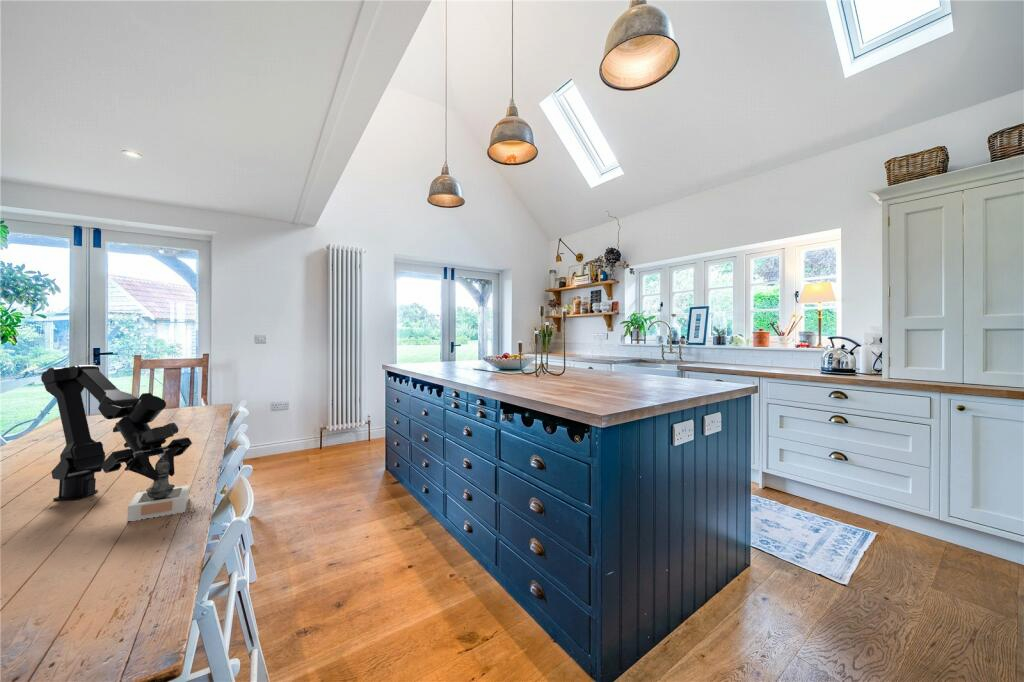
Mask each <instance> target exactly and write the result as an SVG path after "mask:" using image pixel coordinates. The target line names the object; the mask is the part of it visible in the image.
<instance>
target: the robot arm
mask: <svg viewBox="0 0 1024 682" xmlns="http://www.w3.org/2000/svg"><path fill="white" fill-rule="evenodd" d="M40 379H41V382H42V383H43V386H44V388H45V391H46V392H48V394H50V395H52V396H53V397H54V398H55V399H56V402H57V406H58V412H59V416H60V420H61V424H62V431H63V435H64V439H65V447H63V450H62V451H61V453H60V455H59V459H60V461H59V462H58V464H57V465H55V467H54V468H53V469H52V470H51V476H52V479H53V480H58V481H59V485H58V486H59V487H58V496H56V497H53V498H52V500H53V501H70V500H71V501H73V500H82V499H84V498H86V497H88V496H90V495H93V494H96V493H98V492H99V490H98V489H96V482H97V481H96V480H97V479H96V478H95V474H96V473H100V472H102V470H103V472H104V473H105V474H108V473H113V472H116V471H119V470H120V469H121V468H122V466H123V465H122V464H123V463H125V464H126V466H125V468H124V471H125V472H126V471H129V472H133V473H135V474H139V475H141V476H143V477H145V478H148V479H149V480H153V482H154V481H157V480H158V479H159V477H158V475H157V473H156V471H155V467H154V466H153V465H152V463H151V461H150V457H154V456H157V457H158V458H159V459H158V460H157V461H156V463H157V462H159V461H161V460H162V458H164V460H165V461H168V462H169V472H170V474H169V476H170V477H173V476H174V475H175V461H174V460H175V457H178V456H181V455H183V454H184V453H185V452H186V451H187V450H188V449H189V448H190V447H191V445H192V444H193V442H192V440H191V439H190V437H180V438H175V439H172V441H170V443H169V444H168V445H164V444H165V443H167V440H166V439H168V438H173V437H174V435H175V434H178V433H179V431H180V430H179V427H178V425H177V424H176V423H175V422H171V423H170V422H169V423H167V424H165V425H163V426H158V427H157V426H156V427H153V428H151V426H150V425H149V423H152V422H154V421H155V419H156V418H157V417H158V416H159V415H160V414H161V412H162V411H164V410H165V408H166V407H167V403H166V401H165V400H164V399H163V398H161V397H159V396H157V395H153V394H152V392H143V393H141V394H140V396H139V397H136V396H135V395H134V394H132V393H129V392H125V391H122V390H120V389H119V388H118V387H117V386H116V385H114V383H113V382H111V380H109V378H107V376H105V375H104V374H103V373H102V372H101V371H100V367H99V366H97V365H95V364H77V365H72V366H69V367H67V366H63V367H49V368H48V369H46V371H43V373H42V374H41V376H40ZM84 389H86V390H87V391H88V392H89V393H90V394H91V395H92V396H93V397H94V398H95V399H96V400H97V402H98V403H99V404H98V411H99V412H100V414H101V415H102V416H103V417H104V419H107V420H116V419H117V420H118V419H120V420H119V421H117V422H116V423H115V425H114V427H113V428H112V433H120V434H121V436H122V438H123V440H124V441H125V443H124V444H123V447H124V448H125V449H120V450H117V451H112V452H111V453H110V454H109V455H108V456H107V457H106V452H105V450H104V445H103V444H104V443H103V442H101V441H95V440H94V439H92V436H91V432H90V428H89V423H88V417H87V415H86V409H85V405H84V401H83V395H82V392H83V391H84ZM162 445H163V446H162ZM95 492H96V493H95Z"/></svg>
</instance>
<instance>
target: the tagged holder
mask: <svg viewBox="0 0 1024 682" xmlns="http://www.w3.org/2000/svg"><path fill="white" fill-rule="evenodd" d="M168 497H171V498H168V499H162V500H155V501H149V500H151V499H152V498H150V497H149V496H148V494H147V492H146V490H145V491H140V492H136V494H135V495H134V496H133V498H132V499H131V500H130V502H129V504H128V505H127V511H126V512H127V516H126V523H129V522H128V521H132V522H137V521H141V519H143V520H147V519H146V518H149V519H154V518H153V517H155V518H160V517H159V516H161V517H166V516H171V514H172V515H177V513H178V514H183V512H184V513H185V512H186V509H187V506H188V503H189V499H190V485H189V484H188V485H181V486H175V487H174V488H173V491H172V492H171V494H170V495H168ZM148 501H149V502H148ZM165 515H166V516H165ZM136 520H137V521H136Z"/></svg>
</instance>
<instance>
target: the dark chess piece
mask: <svg viewBox="0 0 1024 682" xmlns="http://www.w3.org/2000/svg"><path fill="white" fill-rule="evenodd" d="M154 466H155V467H154V470H155V471H156V473H157V475H158V477H159V479H158V480H157V481H154V480H153V484H152V486H151V487H148V488H146V490H145V491H146V492H147V494H148V496H149V497H150V498H152V499H151V500H149V501H155V500H162V499H168V498H171V497H168V495H170V494H171V492H172V491H173V488H174V487H176V486H175V485H174V484H171V483H170V482H169V478H170V477H169V476H170V475H169V474H170V472H169V462H168V461H165V460H164V458H162V460H161V461H159V462H157V461H156V463H155V465H154ZM149 501H148V502H149Z"/></svg>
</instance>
